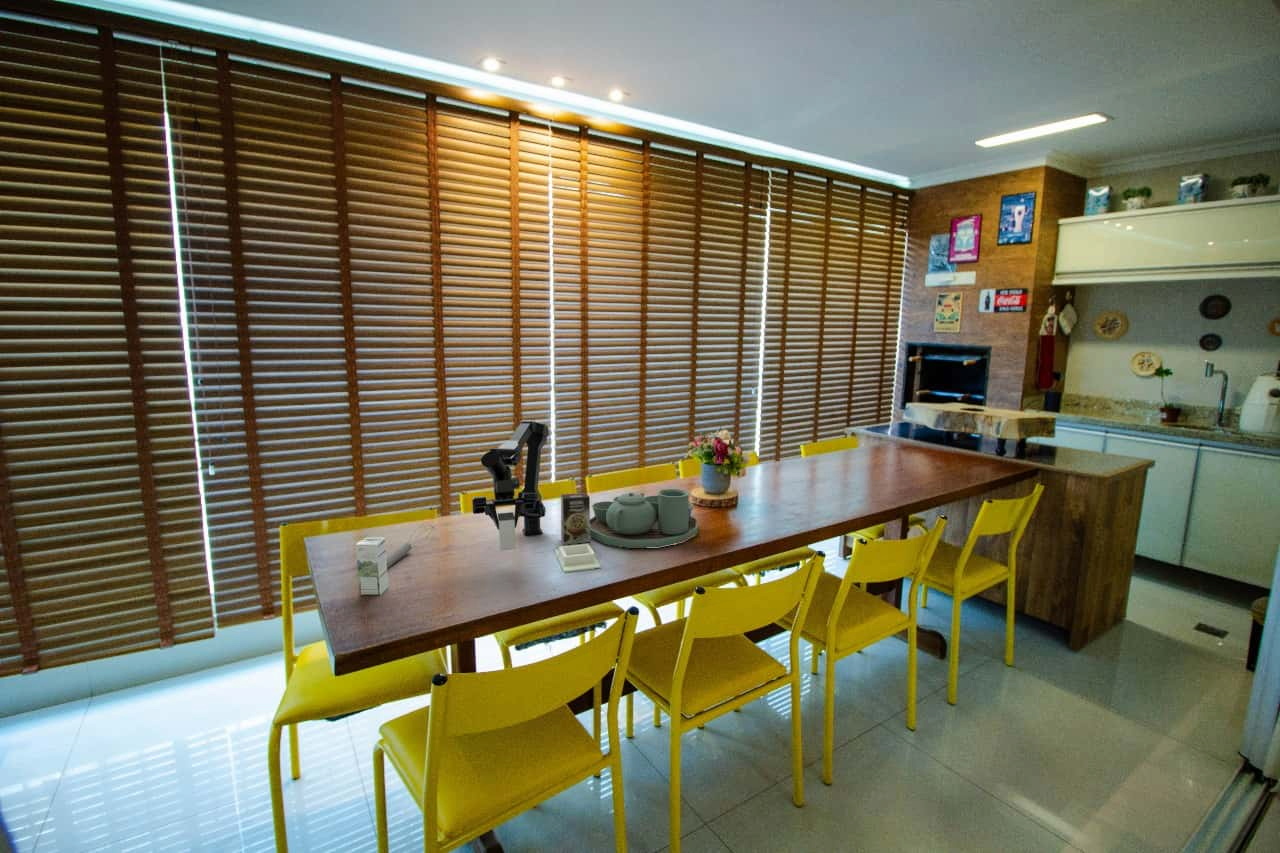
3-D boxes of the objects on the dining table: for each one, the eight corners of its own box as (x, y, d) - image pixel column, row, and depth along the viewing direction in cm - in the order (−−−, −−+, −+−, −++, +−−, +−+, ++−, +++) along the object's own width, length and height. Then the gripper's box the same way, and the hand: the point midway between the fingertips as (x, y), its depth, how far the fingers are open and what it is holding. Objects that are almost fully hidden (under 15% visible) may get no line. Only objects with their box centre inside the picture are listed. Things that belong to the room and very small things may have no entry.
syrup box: (389, 586, 157) (385, 536, 155) (380, 595, 151) (376, 543, 149) (368, 587, 157) (364, 536, 155) (358, 596, 151) (354, 544, 149)
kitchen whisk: (368, 573, 167) (367, 553, 166) (425, 536, 200) (424, 519, 199) (388, 574, 166) (386, 553, 165) (441, 537, 199) (440, 520, 198)
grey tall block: (498, 545, 171) (497, 513, 170) (514, 544, 172) (513, 512, 171) (499, 550, 167) (498, 517, 165) (515, 548, 168) (514, 516, 167)
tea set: (696, 516, 223) (697, 475, 220) (697, 552, 183) (698, 503, 181) (596, 514, 226) (596, 473, 224) (576, 549, 187) (575, 500, 184)
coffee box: (563, 545, 189) (562, 498, 187) (561, 539, 195) (560, 493, 193) (590, 543, 192) (589, 496, 189) (587, 537, 198) (586, 492, 196)
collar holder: (554, 551, 183) (554, 542, 183) (587, 548, 187) (587, 539, 186) (564, 572, 166) (564, 562, 166) (600, 568, 170) (600, 558, 169)
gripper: (471, 470, 166) (473, 517, 158) (535, 466, 172) (540, 511, 163) (471, 490, 175) (474, 536, 166) (532, 485, 180) (538, 529, 172)
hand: (506, 528), depth 166 cm, fingers closed on grey tall block, 4 cm apart
